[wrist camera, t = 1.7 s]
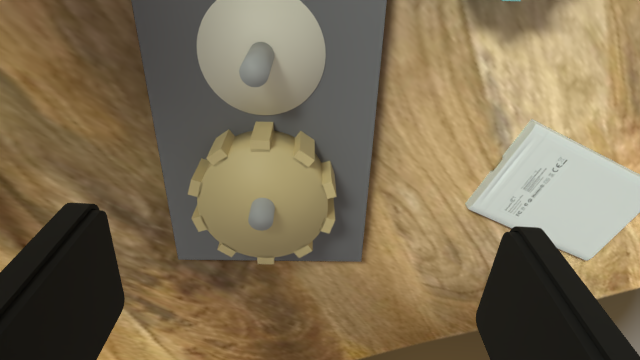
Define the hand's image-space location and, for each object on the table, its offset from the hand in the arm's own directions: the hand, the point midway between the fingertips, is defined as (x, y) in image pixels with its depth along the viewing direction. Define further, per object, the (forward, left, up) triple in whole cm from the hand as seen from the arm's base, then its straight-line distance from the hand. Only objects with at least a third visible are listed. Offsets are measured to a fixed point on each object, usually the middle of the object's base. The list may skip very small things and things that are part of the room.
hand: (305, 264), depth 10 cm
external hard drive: (+11, +20, -22) cm, 31 cm away
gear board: (+5, -3, -21) cm, 22 cm away
